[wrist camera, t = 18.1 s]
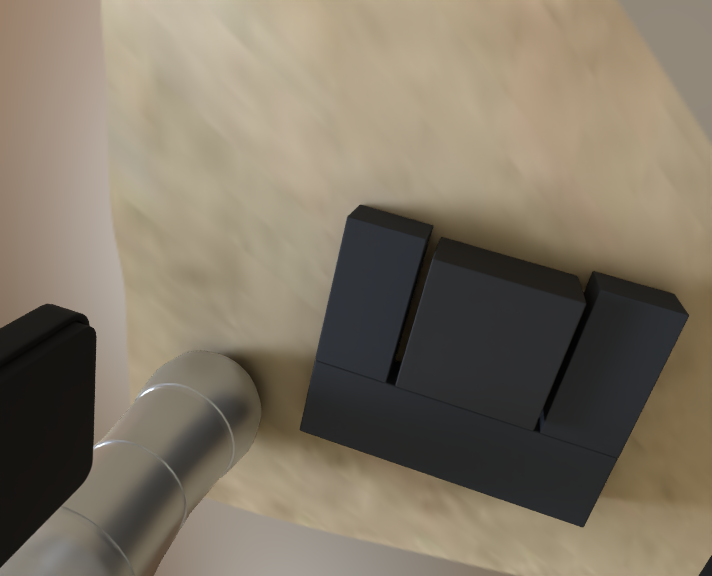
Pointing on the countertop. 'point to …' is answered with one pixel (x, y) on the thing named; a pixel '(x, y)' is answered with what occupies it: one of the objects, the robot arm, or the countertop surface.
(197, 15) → the countertop surface
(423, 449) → the notched tile
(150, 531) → the plastic bottle
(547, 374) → the black pad
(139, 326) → the countertop surface
